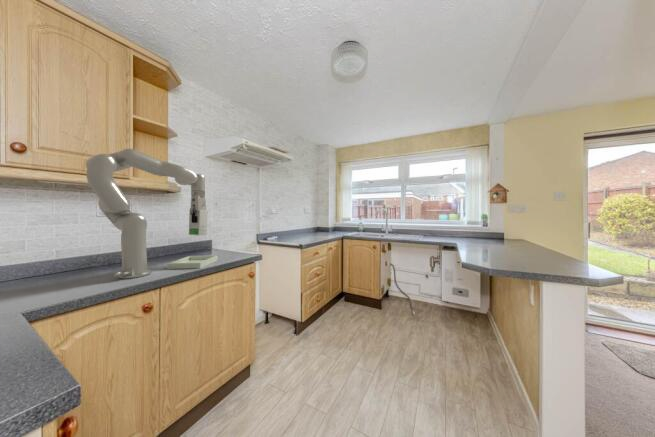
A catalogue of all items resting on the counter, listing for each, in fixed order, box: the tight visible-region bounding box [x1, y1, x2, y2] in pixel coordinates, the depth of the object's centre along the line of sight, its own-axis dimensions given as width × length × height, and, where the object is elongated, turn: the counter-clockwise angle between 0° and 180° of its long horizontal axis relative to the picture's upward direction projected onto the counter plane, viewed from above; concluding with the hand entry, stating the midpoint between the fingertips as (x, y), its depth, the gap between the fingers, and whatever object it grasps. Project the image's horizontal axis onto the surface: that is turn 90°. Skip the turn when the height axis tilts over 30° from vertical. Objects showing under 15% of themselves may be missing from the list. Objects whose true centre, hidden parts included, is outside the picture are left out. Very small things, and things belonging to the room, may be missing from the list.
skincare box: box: [188, 210, 208, 236], centre depth 140 cm, size 8×7×16 cm
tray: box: [166, 255, 219, 270], centre depth 136 cm, size 20×18×3 cm
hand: (198, 222), depth 140 cm, fingers closed on skincare box, 7 cm apart
